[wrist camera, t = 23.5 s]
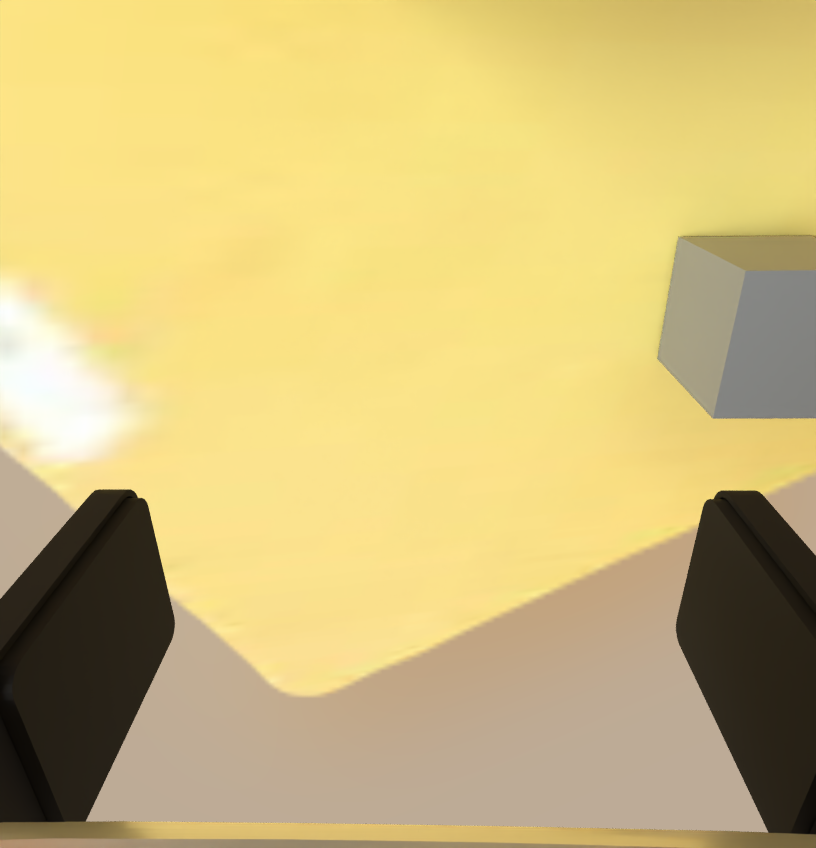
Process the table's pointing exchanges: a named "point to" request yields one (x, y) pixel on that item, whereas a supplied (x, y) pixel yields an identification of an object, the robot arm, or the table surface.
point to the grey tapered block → (744, 325)
